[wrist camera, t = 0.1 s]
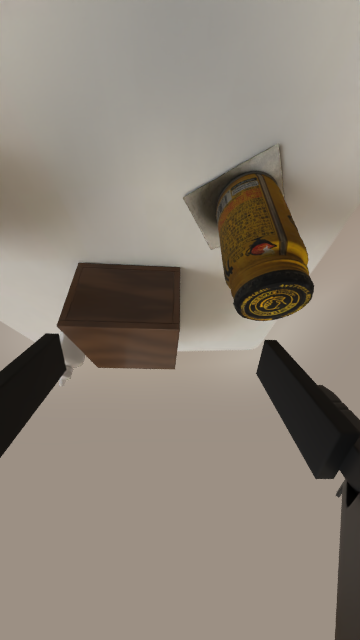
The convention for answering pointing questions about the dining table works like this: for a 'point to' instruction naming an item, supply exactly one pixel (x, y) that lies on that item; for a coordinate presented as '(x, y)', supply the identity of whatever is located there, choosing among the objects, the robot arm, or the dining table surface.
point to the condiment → (255, 238)
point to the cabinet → (124, 315)
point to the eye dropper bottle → (70, 357)
